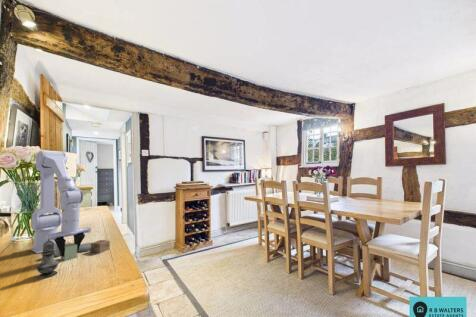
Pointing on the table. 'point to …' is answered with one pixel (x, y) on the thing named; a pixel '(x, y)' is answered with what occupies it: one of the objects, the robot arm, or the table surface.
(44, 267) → the dark grey tall piece
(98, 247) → the walnut block
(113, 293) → the table surface
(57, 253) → the grey tin
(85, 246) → the coaster
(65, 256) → the sage block
